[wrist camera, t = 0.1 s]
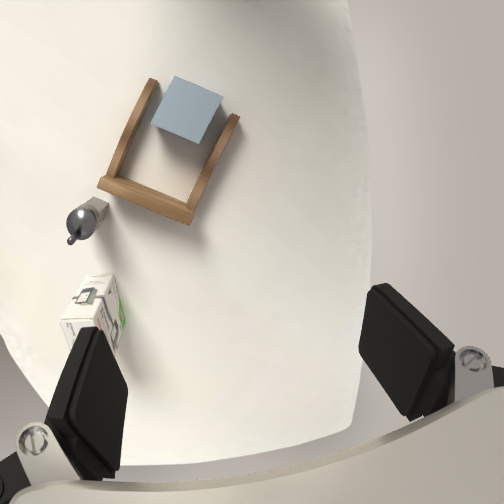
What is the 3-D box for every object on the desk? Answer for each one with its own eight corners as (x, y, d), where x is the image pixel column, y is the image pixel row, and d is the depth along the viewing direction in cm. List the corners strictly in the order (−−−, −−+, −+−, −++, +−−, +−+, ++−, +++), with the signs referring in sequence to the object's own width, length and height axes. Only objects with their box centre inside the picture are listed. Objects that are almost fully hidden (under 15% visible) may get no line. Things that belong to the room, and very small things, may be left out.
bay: (152, 81, 32) (146, 73, 27) (237, 117, 36) (243, 115, 31) (107, 180, 35) (96, 187, 31) (189, 214, 39) (189, 226, 35)
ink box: (126, 321, 44) (113, 373, 33) (98, 322, 43) (79, 373, 32) (114, 272, 40) (93, 319, 30) (84, 274, 39) (57, 319, 29)
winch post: (91, 191, 35) (62, 210, 26) (114, 200, 36) (91, 222, 28) (83, 215, 36) (55, 240, 27) (105, 224, 37) (83, 252, 29)
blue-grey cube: (177, 82, 32) (174, 75, 28) (219, 101, 34) (223, 96, 30) (155, 124, 34) (150, 123, 30) (198, 142, 36) (198, 144, 31)
